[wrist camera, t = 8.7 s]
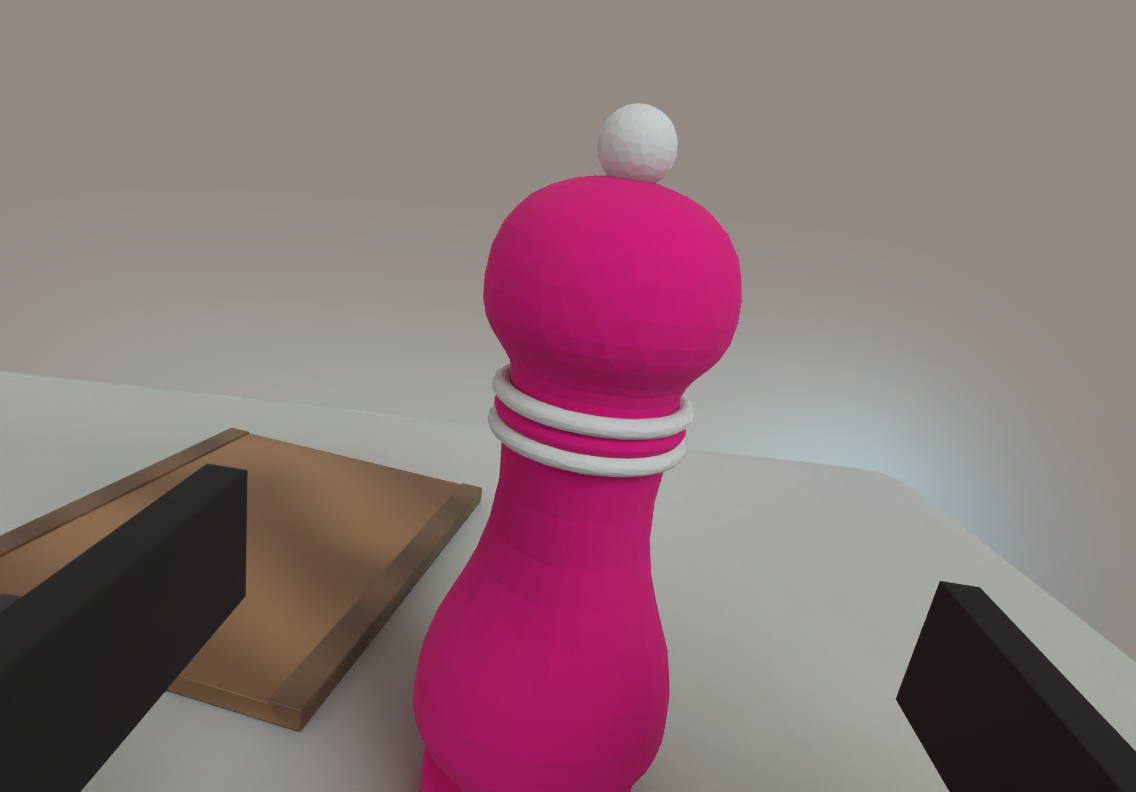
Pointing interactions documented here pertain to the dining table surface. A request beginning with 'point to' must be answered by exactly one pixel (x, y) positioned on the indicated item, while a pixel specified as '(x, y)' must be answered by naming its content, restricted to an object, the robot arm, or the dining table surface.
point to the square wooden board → (276, 563)
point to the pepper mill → (578, 478)
